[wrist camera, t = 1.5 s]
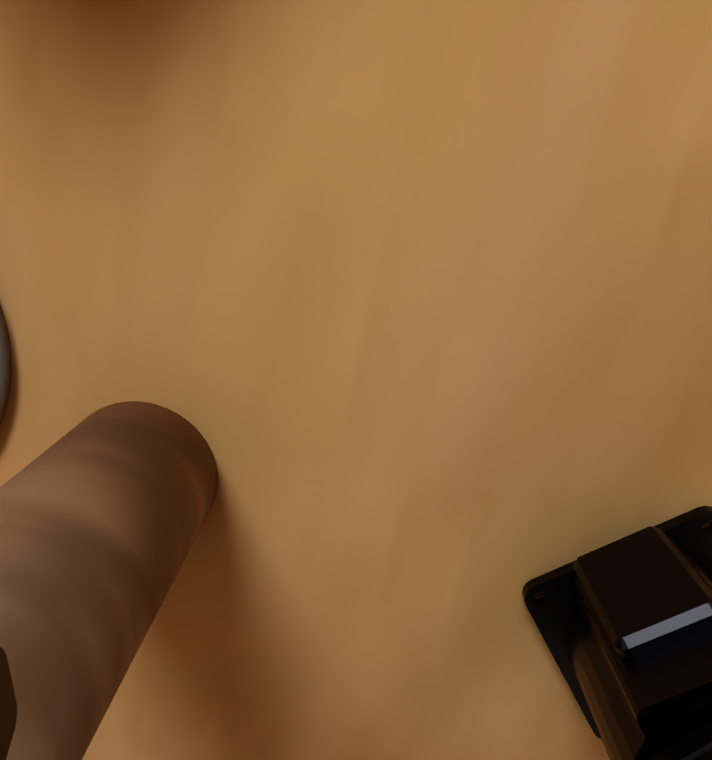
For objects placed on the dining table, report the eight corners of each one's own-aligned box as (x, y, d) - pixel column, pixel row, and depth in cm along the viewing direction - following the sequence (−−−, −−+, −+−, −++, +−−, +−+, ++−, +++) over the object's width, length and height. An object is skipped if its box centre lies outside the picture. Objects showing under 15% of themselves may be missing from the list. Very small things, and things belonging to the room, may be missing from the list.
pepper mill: (246, 504, 21) (61, 955, 9) (119, 565, 22) (-213, 1061, 10) (163, 374, 20) (-178, 681, 8) (34, 443, 21) (-466, 825, 9)
